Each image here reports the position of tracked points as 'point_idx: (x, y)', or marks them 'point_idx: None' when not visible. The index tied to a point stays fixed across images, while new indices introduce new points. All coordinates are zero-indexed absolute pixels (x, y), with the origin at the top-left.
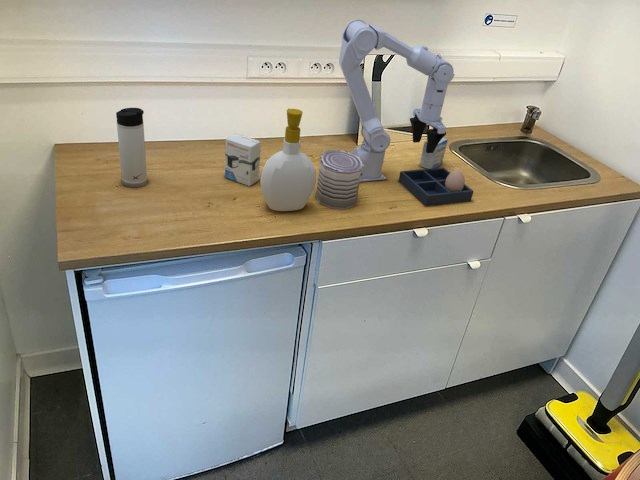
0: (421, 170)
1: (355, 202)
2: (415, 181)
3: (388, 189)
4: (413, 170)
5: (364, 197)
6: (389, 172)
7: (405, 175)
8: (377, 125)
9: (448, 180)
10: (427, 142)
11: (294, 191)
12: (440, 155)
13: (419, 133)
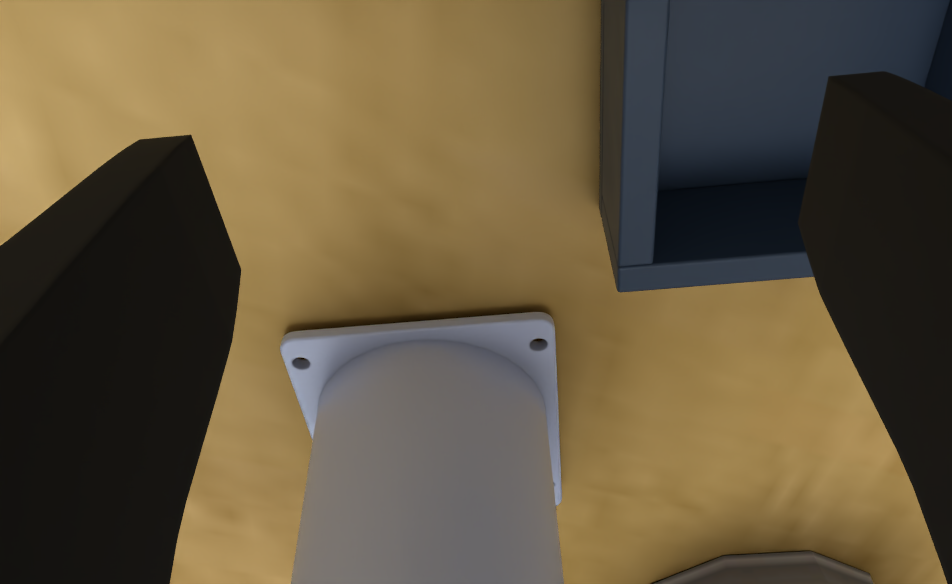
0: (665, 2)
1: (844, 570)
2: (695, 40)
3: (736, 343)
4: (638, 131)
5: (788, 508)
6: (374, 219)
7: (743, 280)
8: None
9: None
10: (922, 467)
11: None
12: None
13: (121, 353)
